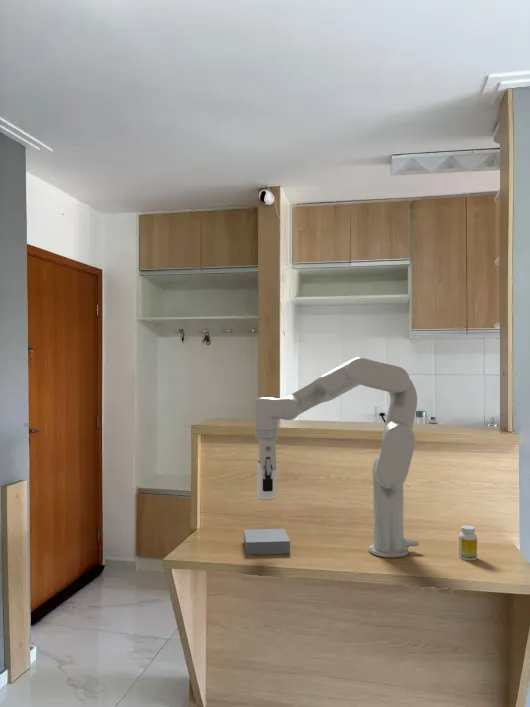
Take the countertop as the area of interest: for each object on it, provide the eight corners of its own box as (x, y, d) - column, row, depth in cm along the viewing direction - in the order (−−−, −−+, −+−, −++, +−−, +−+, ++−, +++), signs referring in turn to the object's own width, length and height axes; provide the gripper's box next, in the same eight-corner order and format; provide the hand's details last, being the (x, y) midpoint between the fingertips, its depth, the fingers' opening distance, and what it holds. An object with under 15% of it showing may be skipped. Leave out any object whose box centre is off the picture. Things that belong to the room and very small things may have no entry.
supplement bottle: (455, 556, 183) (455, 525, 183) (470, 554, 184) (470, 524, 184) (465, 561, 177) (465, 530, 177) (480, 560, 179) (480, 528, 179)
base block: (284, 540, 199) (284, 528, 199) (290, 553, 185) (290, 541, 185) (243, 541, 197) (243, 529, 197) (246, 555, 183) (246, 542, 183)
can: (274, 500, 187) (274, 463, 188) (254, 499, 189) (254, 462, 189) (277, 496, 194) (277, 460, 194) (259, 495, 195) (259, 459, 195)
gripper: (280, 437, 183) (281, 494, 183) (275, 431, 201) (275, 483, 200) (257, 438, 183) (257, 494, 182) (253, 431, 200) (253, 483, 200)
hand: (266, 488), depth 191 cm, fingers closed on can, 6 cm apart
